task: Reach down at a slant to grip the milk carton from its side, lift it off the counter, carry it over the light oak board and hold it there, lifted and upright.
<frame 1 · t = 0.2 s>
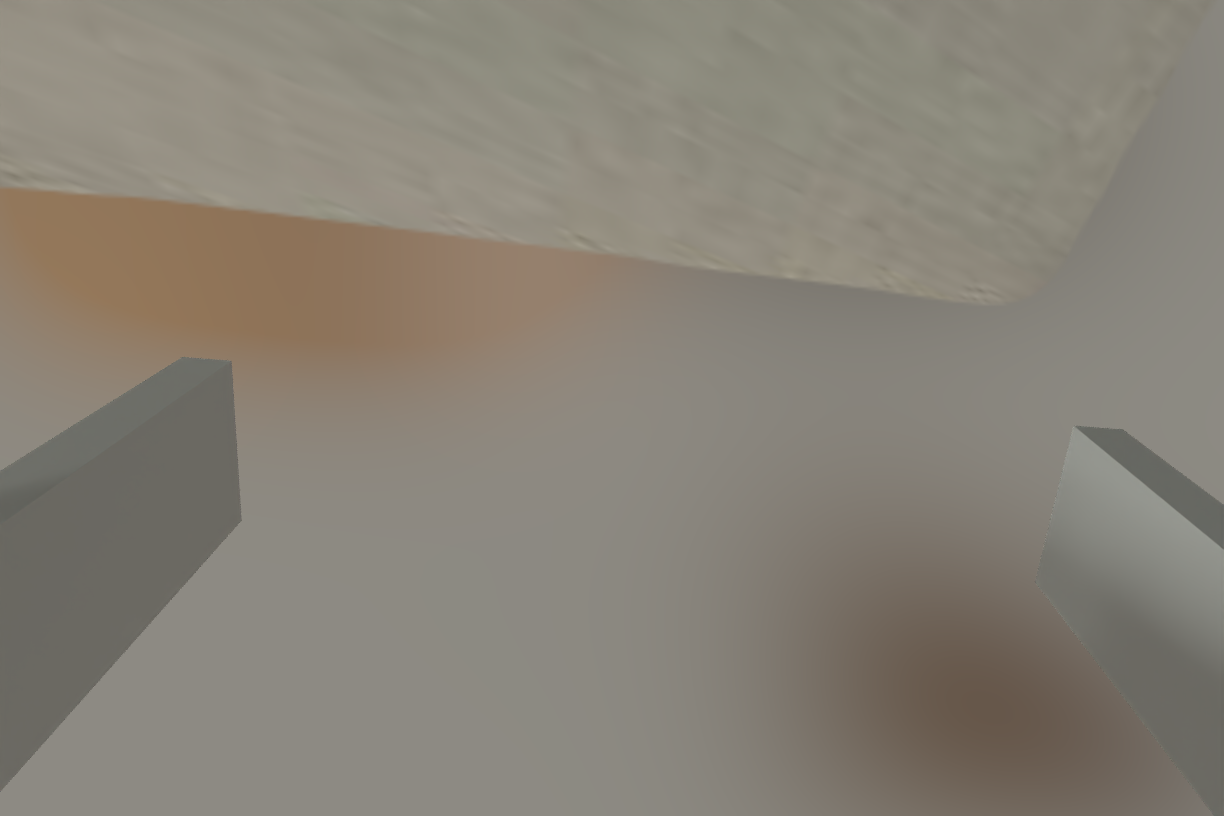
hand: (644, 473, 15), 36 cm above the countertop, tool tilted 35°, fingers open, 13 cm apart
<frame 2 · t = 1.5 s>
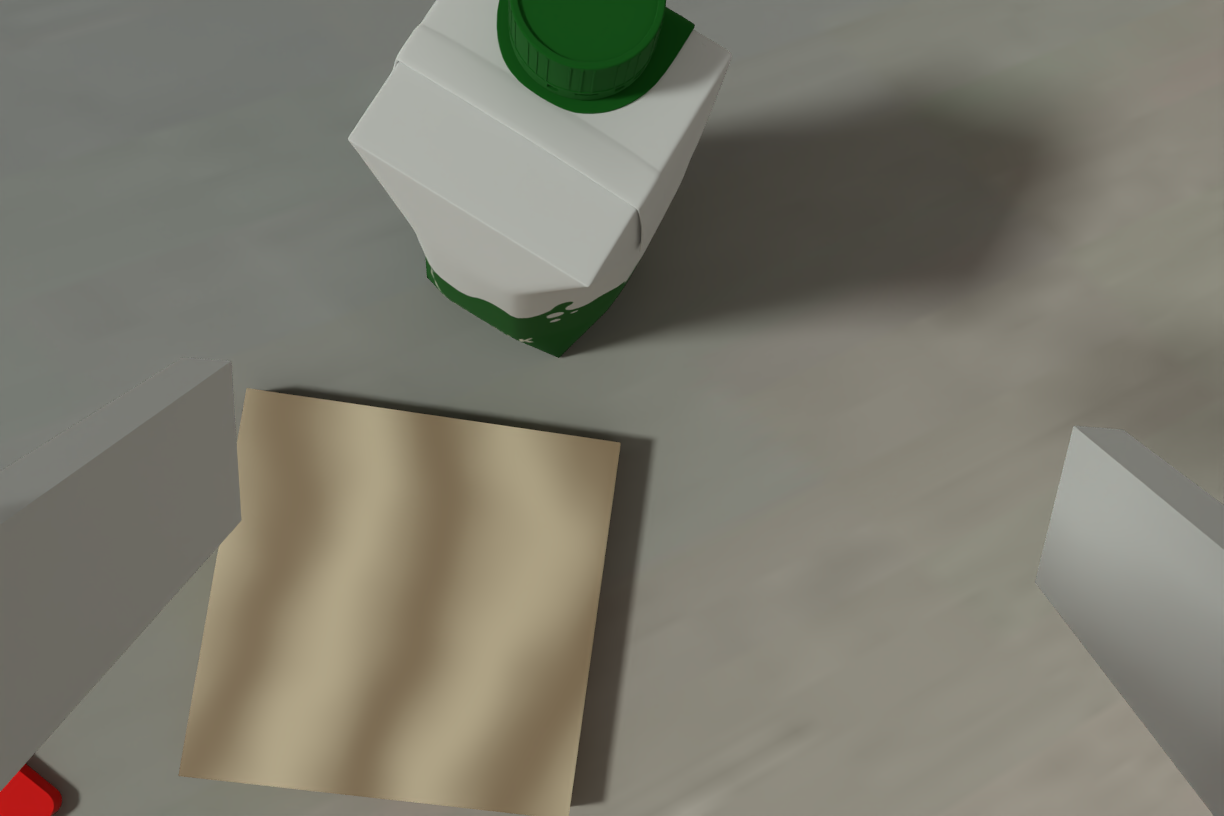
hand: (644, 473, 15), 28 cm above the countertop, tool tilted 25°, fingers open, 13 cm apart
milk carton: (533, 254, 44), on the countertop
oak board: (411, 599, 42), on the countertop
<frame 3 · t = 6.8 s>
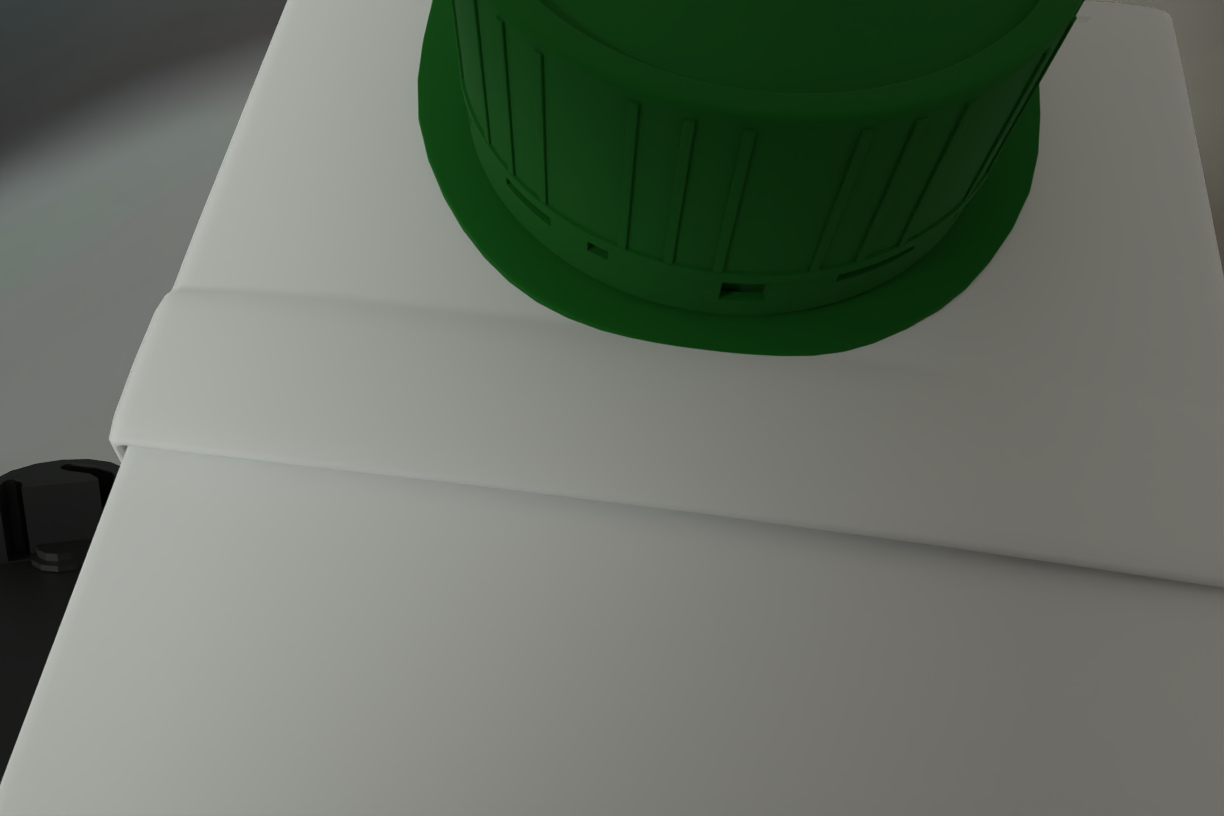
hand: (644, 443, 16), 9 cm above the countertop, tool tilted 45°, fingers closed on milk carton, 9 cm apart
milk carton: (613, 716, 23), on the countertop, touching gripper
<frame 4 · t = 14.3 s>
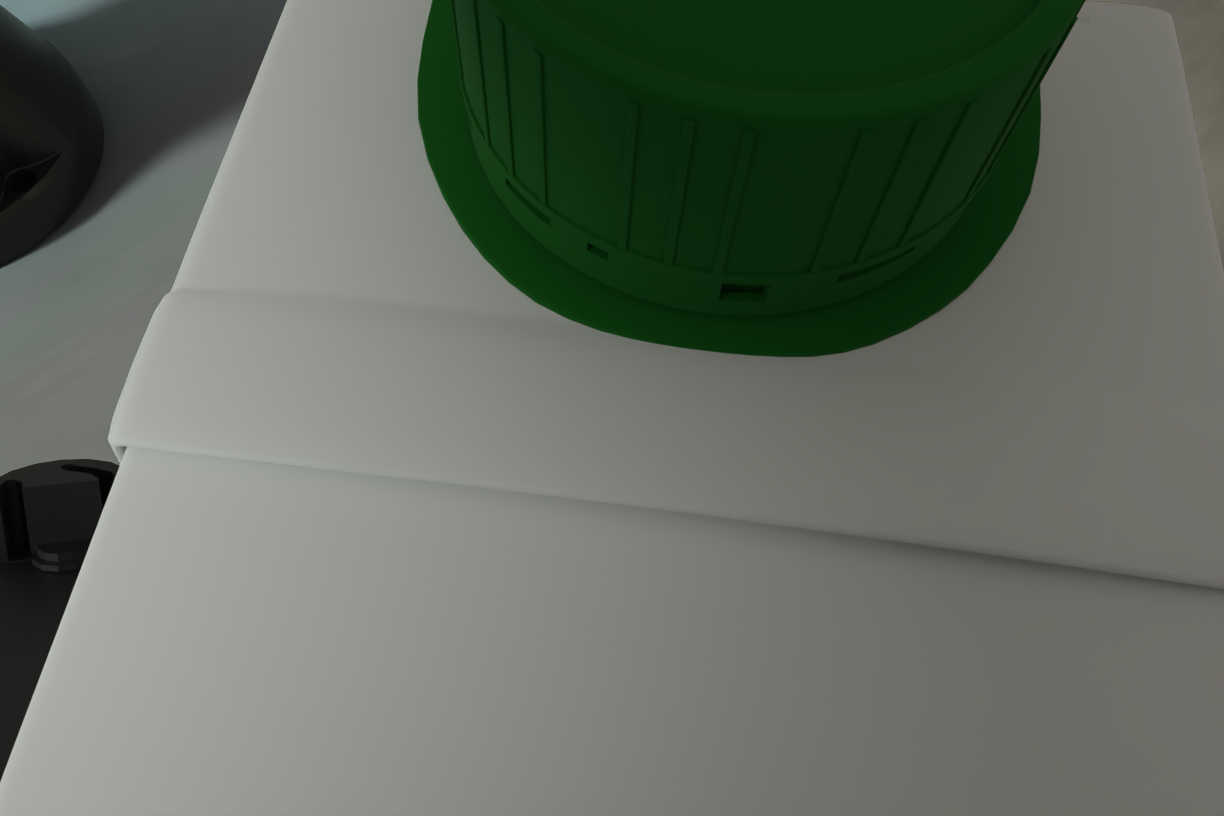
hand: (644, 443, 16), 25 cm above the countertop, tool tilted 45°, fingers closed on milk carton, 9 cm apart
milk carton: (614, 716, 23), point 16 cm above the countertop, touching gripper
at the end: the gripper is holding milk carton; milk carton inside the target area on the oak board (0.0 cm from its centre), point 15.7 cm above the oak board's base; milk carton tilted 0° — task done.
